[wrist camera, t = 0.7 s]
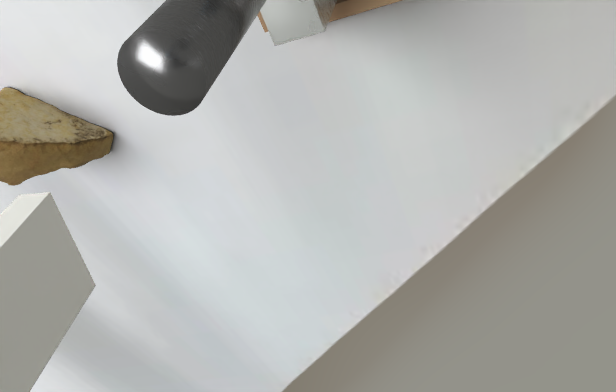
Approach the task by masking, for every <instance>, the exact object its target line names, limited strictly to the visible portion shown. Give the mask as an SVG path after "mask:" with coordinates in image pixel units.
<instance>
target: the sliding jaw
mask: <svg viewBox="0 0 616 392" xmlns="http://www.w3.org/2000/svg"><path fill="white" fill-rule="evenodd" d="M336 2H337V0H166V1H165V2H164V3H163V4H162V5H161V6H160V7H159V8H158V9H157V10H156V11H155V12H154V13H153V14H152V15H151V16H150V17H149V18H148V19H147V20H146V21H145V22H144V23H143V24H142V25H141V26H140V27H139V28H138V29H137V30H136V31H135V32H134V33H133V34H132V35H131V36H130V37H129V38H128V39H127V40H126V41H125V42H124V44H123V45H122V47H121V49H120V51H119V54H118V60H117V65H118V72H119V75H120V78H121V81H122V83H123V85H124V86H125V88H126V89H127V91H128V92H129V93H130V95H131V96H132V97H133V98H134V99H135V100H136V101H138V102H139V103H140V104H141V105H143V106H144V107H146V108H148V109H150V110H152V111H154V112H156V113H160V114H164V115H172V116H174V115H182V114H186V113H189V112H190V111H192V110H194V109H195V108H196V107H197V106H198V105H199V104H200V103H201V101H202V100H203V98H204V97H205V95H206V94H207V92H208V91H209V89H210V88H211V86H212V84H213V83H214V81H215V80H216V78H217V77H218V75H219V74H220V72H221V70H222V69H223V67H224V66H225V64H226V63H227V61H228V60H229V58H230V56H231V55H232V53H233V52H234V50H235V49H236V47H237V46H238V44H239V43H240V41H241V39H242V38H243V36H244V35H245V33H246V32H247V30H248V29H249V27H250V25H251V24H252V22H253V21H254V19H255V18H256V16H257V15H258V13H259V11H260V12H261V14H262V17H263V19H264V21H265V24H266V26H267V29H268V31H269V33H270V36H271V38H272V40H273V43H274V45H275V46H277V45H280V44H284V43H287V42H291V41H294V40H297V39H301V38H304V37H308V36H311V35H314V34H318V33H321V32H325V30H326V27H327V25H328V22H329V19H330V17H331V14H332V12H333V9H334V7H335V4H336Z"/></svg>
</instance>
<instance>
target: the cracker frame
mask: <svg viewBox="0 0 616 392" xmlns="http://www.w3.org/2000/svg"><path fill="white" fill-rule="evenodd" d="M398 1H402V0H337V2H336V4H335V7H334V9H333V12H332V14H331V17H330V19H329V22H331V21H334V20H338V19H341V18H345V17H348V16H351V15H355V14H358V13H361V12H365V11H368V10H371V9H375V8H378V7H382V6H385V5H388V4H392V3H395V2H398ZM258 17H259V20H260V22H261V24H262V27H263V29H264V31H265V32H268V29H267V26H266V24H265V21H264V19H263V17H262V14H261V12H260V11H259V13H258Z"/></svg>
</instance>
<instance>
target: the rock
mask: <svg viewBox="0 0 616 392" xmlns="http://www.w3.org/2000/svg"><path fill="white" fill-rule="evenodd" d="M112 141H113V134H112V132H110V131H108V130H106V129H104V128H102V127H100V126H96V125H94V124H92V123H88V122H86V121H84V120H83V119H80V118H78V117H76V116H73V115H70V114H68V113H66V112H63V111H61V110H59V109H57V108H56V107H54V106H53V105H50V104H47V103H45V102H43V101H41V100H39V99H36V98H33V97H30V96H26V95H24V94H23V93H21V92H19V91H18V90H15V89H12V88H7V87H5V88H3V89H2V90H1V91H0V181H2V182H5V183H8V185H19V184H21V183H22V182H23V181H25V180H27V179H29V178H32V177H34V176H38V175H43V174H47V173H49V172H53V171H56V170H58V169H60V168H70V169H71V168H76V167H79V166H82V165H84V164H86V163H88V162H89V161H92V160H95V159H99V158H102V157H103V156H104V155H106V154H109V152H110V149H111V144H112Z"/></svg>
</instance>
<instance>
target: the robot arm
mask: <svg viewBox="0 0 616 392" xmlns="http://www.w3.org/2000/svg"><path fill="white" fill-rule="evenodd" d="M95 286H96V285H95V283H94V281H93V279H92V277H91V275H90V273H89V271H88V269H87V267H86V265H85V263H84V261H83V259H82V257H81V255H80V253H79V250H78V248H77V246H76V244H75V242H74V240H73V238H72V236H71V234H70V232H69V230H68V228H67V226H66V224H65V222H64V220H63V218H62V216H61V214H60V212H59V210H58V208H57V205H56V203H55V201H54V199H53V197H52V195H51V193H50V192H45V193H33V194H22V195H19V196H18V197H17V198H16V199H15V200H14V201H13V202H12V203H11V204H10V205H9V206H8V207H7V208H6V209H5V210H4V211H3V212H2V213H1V214H0V392H30V390H31V389H32V387H33V385H34V384H35V382H36V381H37V379H38V377H39V376H40V374H41V373H42V371H43V369H44V368H45V366H46V365H47V363H48V361H49V360H50V358H51V356H52V355H53V353H54V352H55V350H56V348H57V347H58V345H59V344H60V342H61V340H62V339H63V337H64V336H65V334H66V332H67V331H68V329H69V328H70V326H71V324H72V323H73V321H74V320H75V318H76V316H77V315H78V313H79V312H80V310H81V308H82V307H83V305H84V303H85V302H86V300H87V299H88V297H89V295H90V294H91V292H92V291H93V289H94V287H95Z"/></svg>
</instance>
